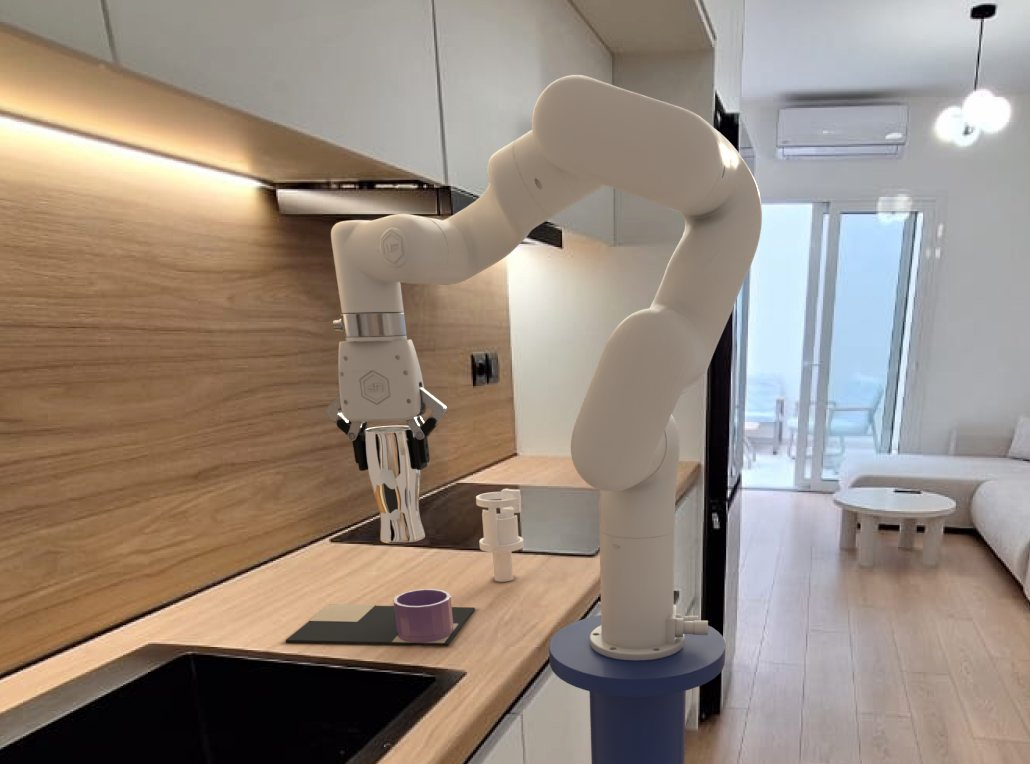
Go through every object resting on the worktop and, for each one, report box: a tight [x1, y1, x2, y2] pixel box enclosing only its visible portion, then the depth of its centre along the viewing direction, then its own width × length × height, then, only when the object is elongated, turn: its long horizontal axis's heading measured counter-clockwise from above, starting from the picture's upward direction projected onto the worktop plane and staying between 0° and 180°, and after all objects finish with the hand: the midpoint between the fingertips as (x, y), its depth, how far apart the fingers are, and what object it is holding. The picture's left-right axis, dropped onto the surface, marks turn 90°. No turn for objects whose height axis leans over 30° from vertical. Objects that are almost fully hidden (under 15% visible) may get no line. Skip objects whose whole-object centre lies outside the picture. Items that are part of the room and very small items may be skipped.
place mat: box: [285, 603, 476, 647], centre depth 114 cm, size 22×14×1 cm, turn 87°
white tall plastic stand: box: [475, 488, 525, 583], centre depth 131 cm, size 7×7×15 cm
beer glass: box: [363, 425, 426, 545], centre depth 110 cm, size 7×7×15 cm
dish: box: [392, 588, 453, 642], centre depth 109 cm, size 7×7×5 cm
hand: (393, 467), depth 109 cm, fingers closed on beer glass, 7 cm apart
